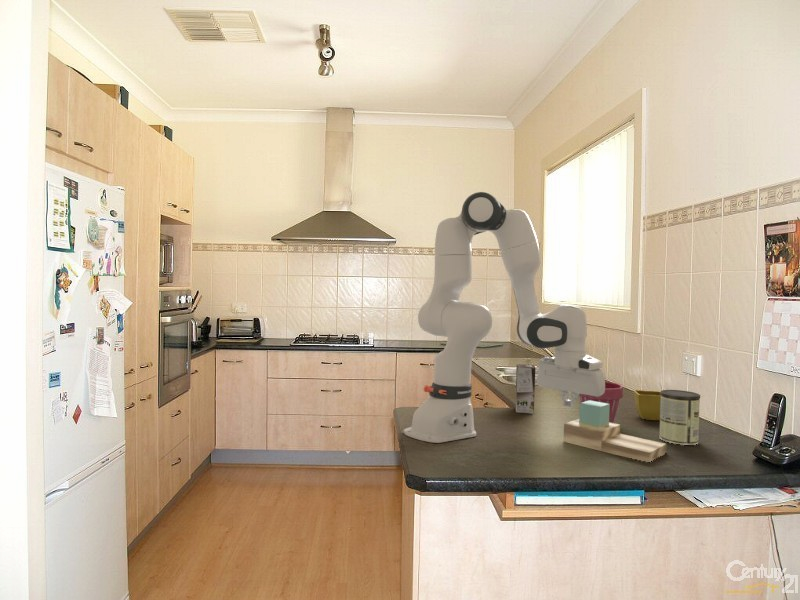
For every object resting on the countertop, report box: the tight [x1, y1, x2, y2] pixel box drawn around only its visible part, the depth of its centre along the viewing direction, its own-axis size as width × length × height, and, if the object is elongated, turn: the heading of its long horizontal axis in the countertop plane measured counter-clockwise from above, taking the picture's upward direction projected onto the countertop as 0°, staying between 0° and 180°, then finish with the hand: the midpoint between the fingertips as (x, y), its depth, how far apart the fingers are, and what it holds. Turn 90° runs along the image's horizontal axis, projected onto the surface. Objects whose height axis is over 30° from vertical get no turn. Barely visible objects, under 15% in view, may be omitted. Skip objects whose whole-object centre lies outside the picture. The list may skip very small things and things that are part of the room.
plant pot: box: [579, 380, 624, 423], centre depth 171 cm, size 14×14×13 cm
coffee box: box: [515, 363, 536, 415], centre depth 185 cm, size 9×6×16 cm
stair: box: [563, 418, 668, 463], centre depth 143 cm, size 12×24×5 cm, turn 44°
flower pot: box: [633, 389, 661, 421], centre depth 178 cm, size 9×9×9 cm
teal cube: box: [578, 400, 610, 428], centre depth 147 cm, size 6×6×6 cm
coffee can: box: [658, 389, 701, 446], centre depth 152 cm, size 10×10×14 cm
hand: (568, 406), depth 153 cm, fingers closed
